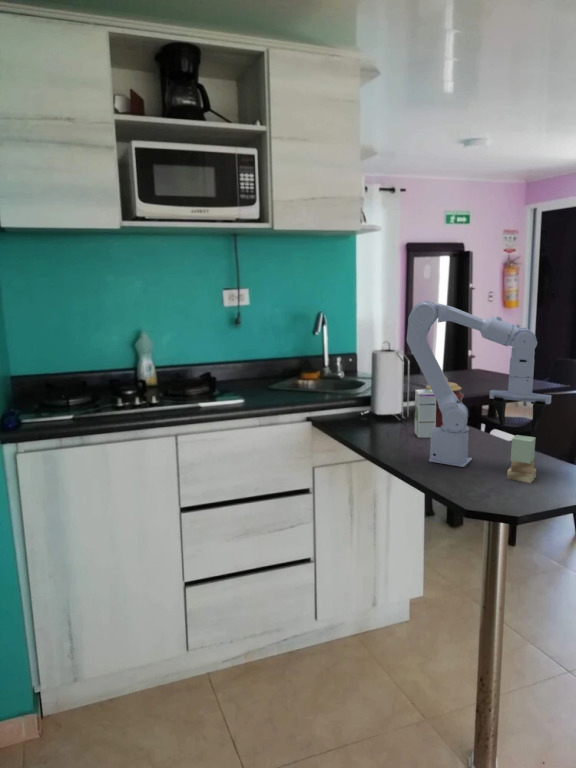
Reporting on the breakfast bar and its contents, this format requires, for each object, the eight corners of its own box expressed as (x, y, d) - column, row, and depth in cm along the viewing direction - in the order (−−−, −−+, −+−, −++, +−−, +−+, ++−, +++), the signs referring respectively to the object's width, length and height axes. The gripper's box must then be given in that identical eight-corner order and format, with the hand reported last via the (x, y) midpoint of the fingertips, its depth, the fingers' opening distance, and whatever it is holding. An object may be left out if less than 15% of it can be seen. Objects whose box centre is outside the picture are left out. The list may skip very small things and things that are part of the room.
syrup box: (435, 437, 176) (437, 392, 173) (416, 437, 176) (418, 392, 173) (431, 433, 181) (433, 389, 179) (413, 433, 181) (414, 389, 179)
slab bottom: (506, 480, 138) (507, 470, 138) (512, 474, 142) (513, 464, 142) (530, 484, 135) (531, 474, 134) (535, 478, 139) (536, 468, 139)
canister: (414, 429, 187) (415, 376, 184) (434, 422, 196) (436, 372, 193) (449, 436, 177) (452, 381, 174) (469, 429, 186) (472, 376, 183)
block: (510, 460, 137) (512, 438, 136) (514, 456, 141) (516, 434, 140) (530, 463, 135) (531, 441, 134) (534, 459, 138) (535, 437, 137)
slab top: (511, 471, 137) (511, 461, 136) (511, 465, 141) (512, 456, 141) (533, 474, 135) (534, 464, 134) (533, 467, 139) (533, 458, 139)
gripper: (487, 376, 143) (484, 427, 146) (549, 380, 136) (545, 435, 138) (494, 372, 149) (491, 422, 152) (554, 376, 141) (550, 429, 144)
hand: (517, 428), depth 145 cm, fingers open, 7 cm apart
